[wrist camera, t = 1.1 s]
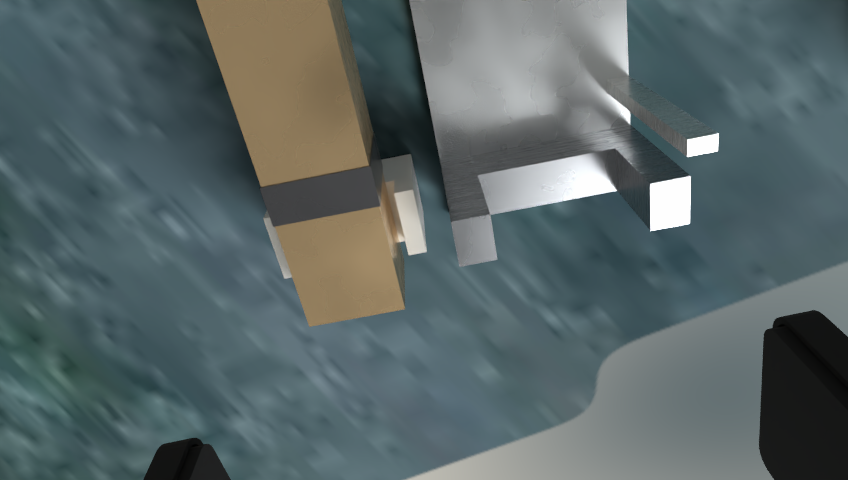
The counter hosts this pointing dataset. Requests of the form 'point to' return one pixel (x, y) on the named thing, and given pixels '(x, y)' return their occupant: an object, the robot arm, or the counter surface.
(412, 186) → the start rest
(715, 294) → the counter surface
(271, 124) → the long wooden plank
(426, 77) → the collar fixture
